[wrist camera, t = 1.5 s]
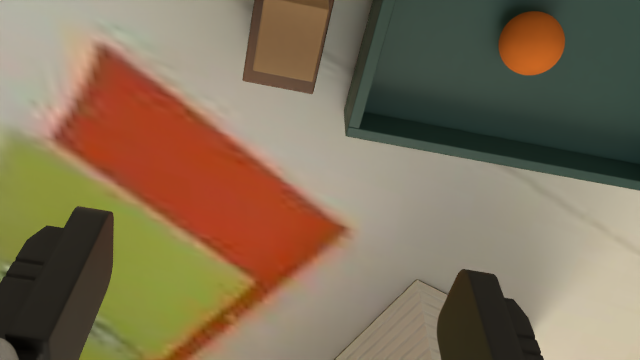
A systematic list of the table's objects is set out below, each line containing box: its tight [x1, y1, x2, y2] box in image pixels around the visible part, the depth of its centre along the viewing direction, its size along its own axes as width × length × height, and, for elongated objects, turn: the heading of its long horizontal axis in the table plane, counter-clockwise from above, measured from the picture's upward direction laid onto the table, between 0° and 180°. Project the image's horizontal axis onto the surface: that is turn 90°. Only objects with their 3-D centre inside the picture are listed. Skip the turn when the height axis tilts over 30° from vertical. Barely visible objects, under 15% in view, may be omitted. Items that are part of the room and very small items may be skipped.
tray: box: [344, 0, 640, 190], centre depth 29 cm, size 13×18×3 cm
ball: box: [499, 11, 565, 75], centre depth 28 cm, size 3×3×3 cm
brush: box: [243, 0, 334, 94], centre depth 26 cm, size 9×4×8 cm, turn 168°
